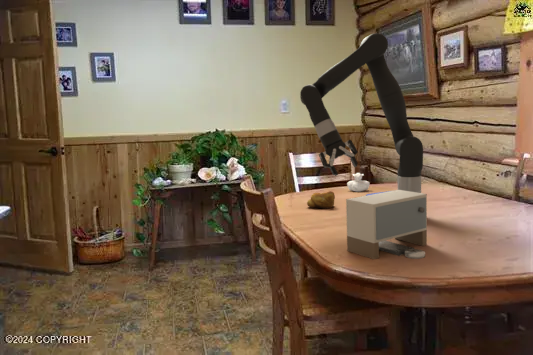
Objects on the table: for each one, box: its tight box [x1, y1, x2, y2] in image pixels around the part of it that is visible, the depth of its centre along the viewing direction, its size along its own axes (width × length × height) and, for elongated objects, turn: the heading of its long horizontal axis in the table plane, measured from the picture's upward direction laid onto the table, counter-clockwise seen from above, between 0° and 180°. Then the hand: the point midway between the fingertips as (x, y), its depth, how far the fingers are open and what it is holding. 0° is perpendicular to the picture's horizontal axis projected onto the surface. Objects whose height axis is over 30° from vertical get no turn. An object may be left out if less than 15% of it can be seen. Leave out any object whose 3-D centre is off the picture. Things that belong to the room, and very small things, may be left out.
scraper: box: [379, 240, 415, 256], centre depth 166 cm, size 20×7×13 cm, turn 33°
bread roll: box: [306, 190, 336, 209], centre depth 235 cm, size 13×10×8 cm
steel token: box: [404, 248, 426, 260], centre depth 156 cm, size 6×6×2 cm
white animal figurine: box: [346, 172, 371, 193], centre depth 271 cm, size 12×8×11 cm
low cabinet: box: [345, 189, 428, 260], centre depth 164 cm, size 14×24×17 cm, turn 123°
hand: (346, 171), depth 194 cm, fingers open, 8 cm apart
